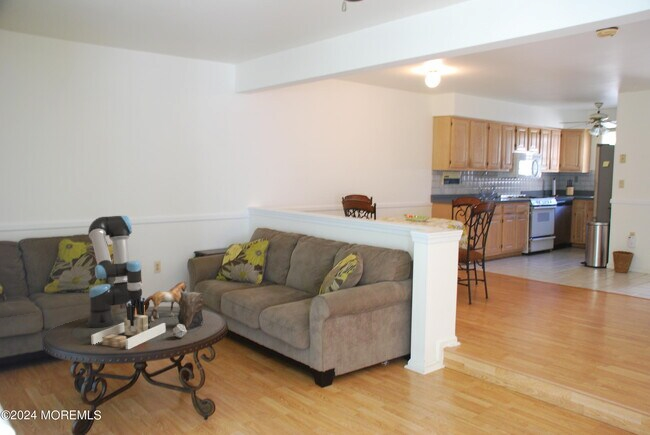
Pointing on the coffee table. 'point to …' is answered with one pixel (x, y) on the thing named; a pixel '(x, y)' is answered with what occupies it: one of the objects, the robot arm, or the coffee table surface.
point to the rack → (132, 340)
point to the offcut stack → (114, 340)
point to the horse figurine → (165, 298)
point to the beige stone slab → (140, 324)
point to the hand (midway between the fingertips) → (136, 330)
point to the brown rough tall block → (190, 309)
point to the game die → (179, 330)
